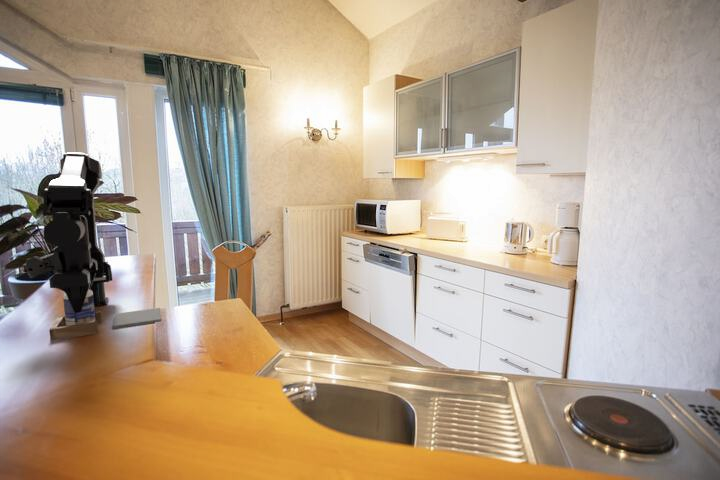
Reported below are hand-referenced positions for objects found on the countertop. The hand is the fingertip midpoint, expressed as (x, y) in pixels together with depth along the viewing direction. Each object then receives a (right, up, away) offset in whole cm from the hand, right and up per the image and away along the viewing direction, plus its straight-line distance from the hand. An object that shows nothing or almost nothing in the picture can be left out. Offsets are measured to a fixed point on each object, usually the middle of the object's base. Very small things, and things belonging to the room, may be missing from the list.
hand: (79, 308), depth 83 cm
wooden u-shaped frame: (0, -5, +1) cm, 5 cm away
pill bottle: (0, -4, +1) cm, 4 cm away
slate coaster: (+9, -4, +8) cm, 12 cm away
